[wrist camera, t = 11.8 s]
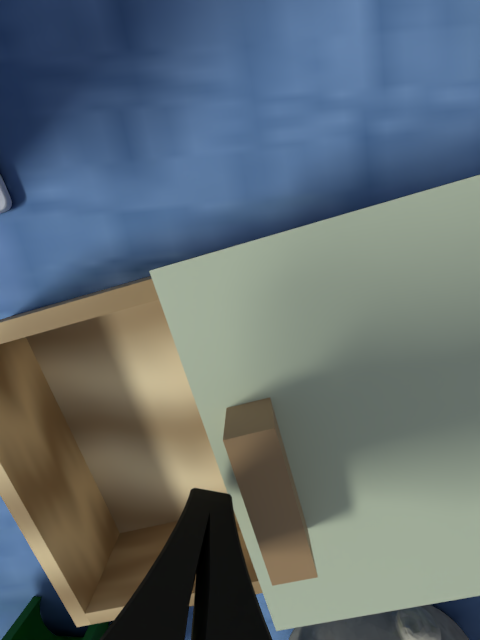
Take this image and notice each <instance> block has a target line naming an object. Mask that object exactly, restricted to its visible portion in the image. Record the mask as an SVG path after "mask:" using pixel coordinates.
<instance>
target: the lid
mask: <svg viewBox="0 0 480 640" xmlns="http://www.w3.org/2000/svg"><path fill="white" fill-rule="evenodd" d="M149 272H150V275H151V278H152V280H153V283H154V286H155V289H156V292H157V295H158V297H159V300H160V303H161V306H162V309H163V312H164V314H165V317H166V320H167V323H168V326H169V329H170V331H171V334H172V337H173V340H174V343H175V346H176V348H177V351H178V354H179V357H180V360H181V363H182V365H183V368H184V371H185V374H186V377H187V380H188V382H189V385H190V388H191V391H192V394H193V397H194V399H195V402H196V405H197V408H198V411H199V414H200V416H201V419H202V422H203V425H204V428H205V430H206V433H207V436H208V439H209V442H210V445H211V447H212V450H213V453H214V456H215V459H216V462H217V464H218V467H219V470H220V473H221V476H222V479H223V481H224V484H225V487H226V490H227V493H228V494H230V495H231V497H232V503H233V510H234V513H235V515H236V518H237V521H238V524H239V527H240V530H241V532H242V535H243V538H244V541H245V544H246V547H247V549H248V552H249V555H250V558H251V561H252V564H253V566H254V569H255V572H256V575H257V578H258V581H259V583H260V586H261V589H262V592H263V595H264V597H265V600H266V603H267V606H268V609H269V612H270V614H271V617H272V620H273V623H274V626H275V629H276V631H279V630H285V629H291V628H296V627H302V626H308V625H314V624H320V623H325V622H331V621H337V620H343V619H348V618H354V617H360V616H366V615H371V614H377V613H383V612H389V611H394V610H400V609H406V608H412V607H418V606H423V605H429V604H435V603H441V602H446V601H452V600H458V599H464V598H469V597H475V596H480V175H477V176H473V177H470V178H466V179H463V180H459V181H456V182H453V183H449V184H446V185H442V186H439V187H435V188H432V189H429V190H425V191H422V192H418V193H415V194H411V195H408V196H404V197H401V198H398V199H394V200H391V201H387V202H384V203H380V204H377V205H374V206H370V207H367V208H363V209H360V210H356V211H353V212H349V213H346V214H343V215H339V216H336V217H332V218H329V219H325V220H322V221H318V222H315V223H312V224H308V225H305V226H301V227H298V228H294V229H291V230H288V231H284V232H281V233H277V234H274V235H270V236H267V237H263V238H260V239H257V240H253V241H250V242H246V243H243V244H239V245H236V246H233V247H229V248H226V249H222V250H219V251H215V252H212V253H208V254H205V255H202V256H198V257H195V258H191V259H188V260H184V261H181V262H177V263H174V264H171V265H167V266H164V267H160V268H157V269H154V270H150V271H149Z"/></svg>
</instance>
